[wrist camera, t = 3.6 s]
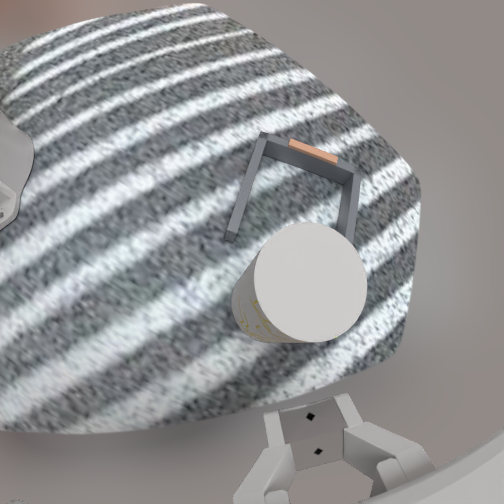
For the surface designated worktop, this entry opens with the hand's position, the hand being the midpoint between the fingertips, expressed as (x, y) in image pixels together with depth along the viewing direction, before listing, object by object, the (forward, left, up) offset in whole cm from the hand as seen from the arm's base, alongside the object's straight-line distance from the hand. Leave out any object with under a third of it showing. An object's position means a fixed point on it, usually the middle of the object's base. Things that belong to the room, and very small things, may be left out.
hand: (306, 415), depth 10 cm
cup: (+7, +2, -21) cm, 22 cm away
